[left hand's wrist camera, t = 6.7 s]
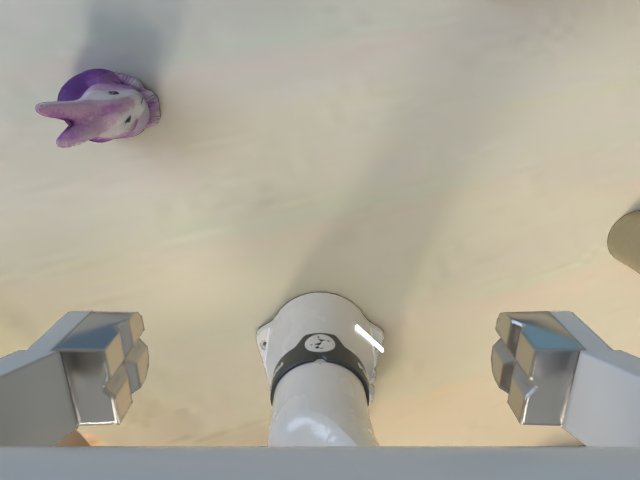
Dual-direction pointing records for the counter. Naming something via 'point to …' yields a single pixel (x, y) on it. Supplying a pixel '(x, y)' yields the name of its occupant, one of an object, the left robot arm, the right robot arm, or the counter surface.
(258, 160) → the counter surface
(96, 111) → the figurine
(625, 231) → the silver ridged cylinder
